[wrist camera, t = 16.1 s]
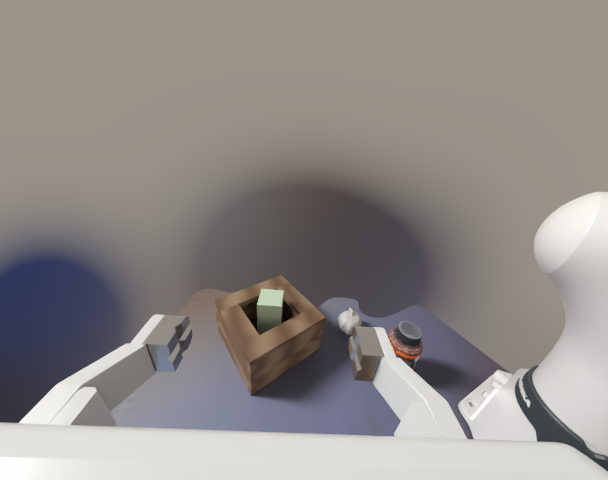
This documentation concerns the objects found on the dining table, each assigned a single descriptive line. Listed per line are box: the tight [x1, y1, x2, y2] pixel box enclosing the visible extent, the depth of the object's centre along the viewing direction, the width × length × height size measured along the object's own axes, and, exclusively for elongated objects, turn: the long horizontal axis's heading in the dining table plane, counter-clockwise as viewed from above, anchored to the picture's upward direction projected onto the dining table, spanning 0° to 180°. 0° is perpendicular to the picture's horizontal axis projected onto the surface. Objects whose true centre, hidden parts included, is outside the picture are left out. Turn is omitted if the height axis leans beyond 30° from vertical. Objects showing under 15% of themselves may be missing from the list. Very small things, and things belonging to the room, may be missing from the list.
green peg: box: [257, 289, 284, 335], centre depth 44 cm, size 4×4×12 cm
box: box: [215, 276, 326, 395], centre depth 45 cm, size 16×16×9 cm
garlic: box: [338, 308, 362, 335], centre depth 50 cm, size 6×5×5 cm
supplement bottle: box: [388, 321, 423, 370], centre depth 41 cm, size 6×6×11 cm
